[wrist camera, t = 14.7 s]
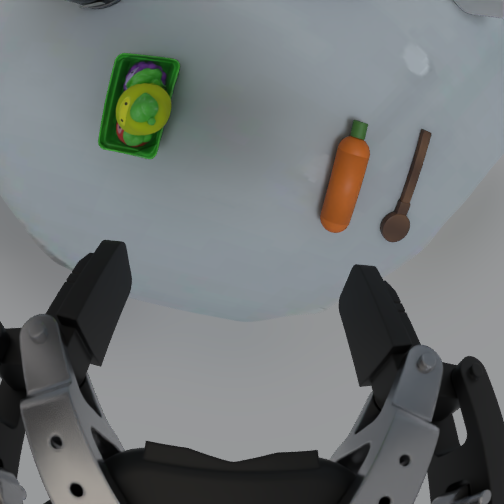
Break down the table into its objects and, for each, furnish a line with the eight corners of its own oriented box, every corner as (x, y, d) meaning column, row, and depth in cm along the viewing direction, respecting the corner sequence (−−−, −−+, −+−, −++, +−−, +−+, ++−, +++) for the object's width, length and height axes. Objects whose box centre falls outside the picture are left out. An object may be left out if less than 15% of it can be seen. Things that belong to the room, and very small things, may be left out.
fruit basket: (134, 55, 24) (85, 49, 15) (202, 65, 26) (176, 56, 16) (115, 138, 30) (67, 165, 21) (177, 152, 32) (145, 183, 23)
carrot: (339, 115, 29) (354, 120, 26) (366, 122, 30) (383, 129, 26) (313, 222, 37) (323, 237, 34) (338, 224, 38) (349, 239, 35)
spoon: (411, 124, 29) (415, 126, 28) (437, 135, 29) (441, 137, 28) (375, 236, 39) (378, 240, 38) (400, 240, 39) (403, 244, 38)
